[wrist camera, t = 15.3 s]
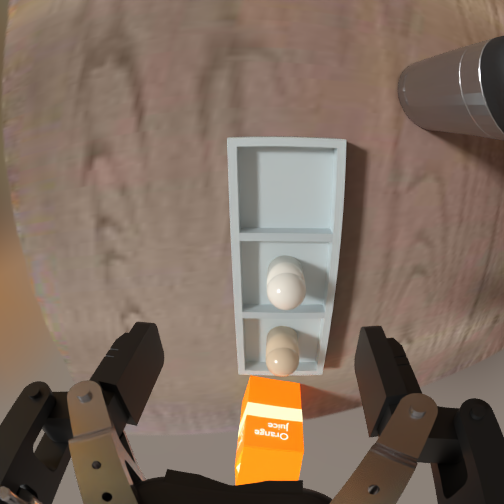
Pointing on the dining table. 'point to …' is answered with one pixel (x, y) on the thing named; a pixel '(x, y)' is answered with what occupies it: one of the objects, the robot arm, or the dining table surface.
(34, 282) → the dining table surface
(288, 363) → the tan egg
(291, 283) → the cream egg
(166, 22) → the dining table surface
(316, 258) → the white divided tray
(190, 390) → the dining table surface
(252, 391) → the orange juice
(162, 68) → the dining table surface
